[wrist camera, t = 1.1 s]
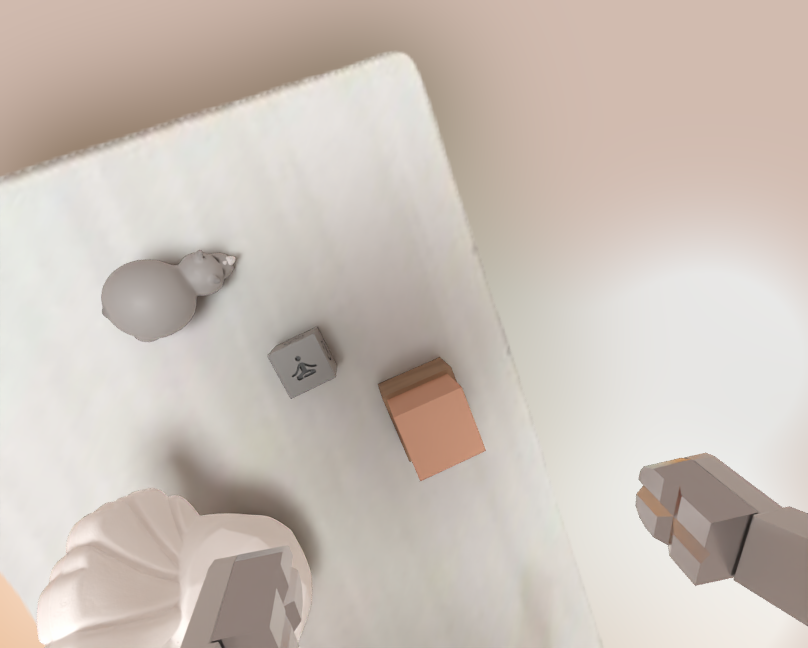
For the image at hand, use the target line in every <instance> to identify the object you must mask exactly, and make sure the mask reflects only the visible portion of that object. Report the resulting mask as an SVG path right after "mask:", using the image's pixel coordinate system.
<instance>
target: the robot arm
mask: <svg viewBox="0 0 808 648" xmlns="http://www.w3.org/2000/svg"><path fill="white" fill-rule="evenodd" d="M639 481H640V482H641V483H642V484H643V487H642V488H641V489H640V491H639V492H638V493H637V494H636V508H637V511H638V514H639V517H640V519H641V521H642V522H643V524H644V526H645V527H646V529H647V530H648V531H649V532H650V533H651V535H652V536H653V537H654V538H656V539H658V540H660V541H661V542H663V543H665V544H667V545H668V549H669V556H670V557H671V558H672V559H673V560H674V561H675V563H676V564H677V565H678V566H679V568H680V569H681V570H682V571H683V572H684V573H685V574H686V575H687V577H688V578H689V579H690V580H691V581H692V582H693V584H694V585H695V586H696V585H700V584H705V583H709V582H714V581H719V580H723V579H728V578H733V577H734V581H736V582H738V583H740V584H741V585H742V586H744V587H746V588H747V589H749V590H750V591H752V592H754V593H755V594H757V595H758V596H760V597H762V598H763V599H765V600H766V601H768V602H770V603H771V604H773V605H775V606H776V607H778V608H779V609H781V610H782V611H784V612H786V613H787V614H789V615H791V616H792V617H794V618H796V619H797V620H798V621H800V622H802V623H803V624H805V625H807V626H808V513H805V512H803V511H800V510H797V509H795V508H792V507H785V508H782V507H781V506H780V505H778V504H777V503H776V502H774V501H773V500H772V499H771V498H769V497H768V496H767V495H765V494H764V493H763V492H761V491H760V490H758V489H757V488H756V487H754V486H753V485H752V484H751V483H749V482H748V481H746V480H745V479H744V478H743V477H741V476H740V475H739V474H737V473H736V472H735V471H733V470H732V469H731V468H729V467H728V466H727V465H725V464H724V463H723V462H721V461H720V460H719V459H717V458H716V457H715V456H713V455H710V454H708V453H703V454H698V455H694V456H689V457H685V458H679V459H674V460H670V461H666V462H661V463H657V464H653V465H648V466H644V467H643V468H642V469H641V471H640V474H639ZM292 559H293V555H292V552H291V550H290V547H289V546H282V547H276V548H271V549H266V550H260V551H255V552H250V553H245V554H239V555H235V556H230V557H225V558H220V559H216V560H214V561H213V563H212V564H211V565H210V567H209V568H208V571H207V573H206V576H205V579H204V582H203V585H202V588H201V590H200V593H199V596H198V599H197V602H196V604H195V607H194V610H193V613H192V616H191V619H190V621H189V624H188V627H187V630H186V633H185V636H184V638H183V641H182V644H181V647H180V648H299V644H298V641H297V639H296V636H295V633H294V631H295V630H296V628H297V627H298V625H299V624H300V622H301V620H302V608H303V595H302V584H301V578H300V575H299V572H298V570H297V569H295V568H293V567H292Z"/></svg>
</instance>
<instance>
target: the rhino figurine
mask: <svg viewBox="0 0 808 648" xmlns="http://www.w3.org/2000/svg"><path fill="white" fill-rule="evenodd" d="M235 260H236V258H235V257H234V256H227V255H226V254H223V253H213V254H206V253H203V252H202V250H198V251H197V252H195V253H191V254H188V255H187V256H185V257H184V258H183V259H182V260H181V262H180V263H179V264H178V265H171V264H168V263H165V262H162V261H157V260H137V261H133V262H129V263H127V264H124V265H123V266H121V267H119V268H118V269H116V270H115V271H114V272H113V273H112V274H111V275H110V276H109V277H108V279H107V280H106V282H105V284H104V286H103V289H102V295H101V300H102V306H103V309H102V314H103V315H104V316H105V317H106V318H108V319H109V320H110V321H111V322H112V323H113V324H114V325H115V326H116V327H117V328H118V329H120V330H121V331H123V332H125V333H127V334H129V335H132V336H134V337H135V338H136V339H138V340H140V341H143V342H152V341H155V340H157V339H159V338H162V337H166V336H169V335H172V334H174V333H176V332H178V331H179V330H181V329H182V328H183V327H185V326H186V325H187V324H188V322H189V321H190V320H191V318H192V316H193V314H194V312H195V309H196V299H197V296H199V295H210V294H213V293H215V292H217V291H218V290H219V289H220V288H221V287H222V285H223V283H224V279H225V278H227V277H228V276H229V275H230V274H231V272H232V271H233V270H234V267H233V264H234V262H235Z"/></svg>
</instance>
